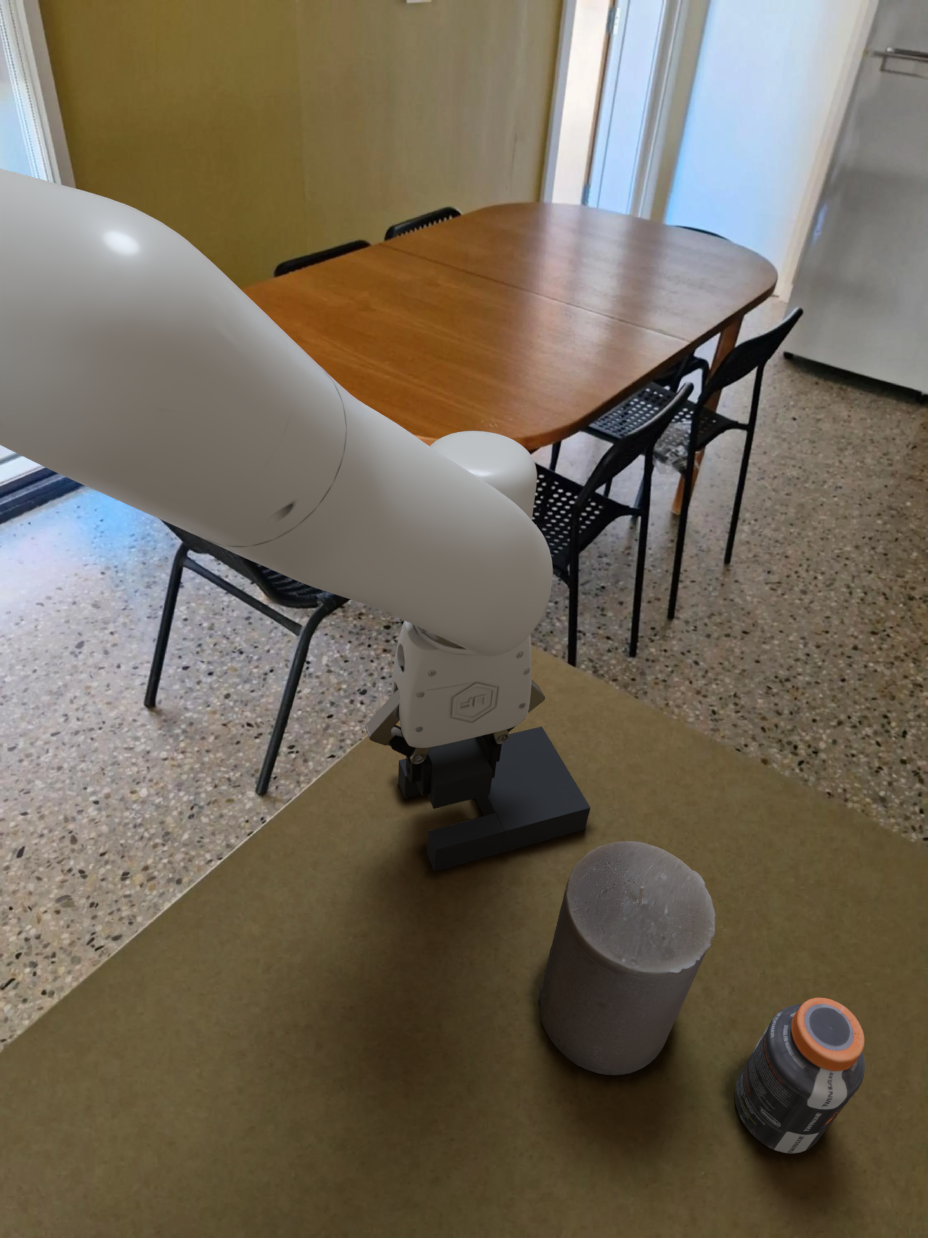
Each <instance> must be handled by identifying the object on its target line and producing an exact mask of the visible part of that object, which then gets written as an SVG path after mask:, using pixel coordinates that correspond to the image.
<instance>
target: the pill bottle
mask: <svg viewBox="0 0 928 1238" xmlns="http://www.w3.org/2000/svg"><path fill="white" fill-rule="evenodd" d="M865 1039H866V1037H865V1033H864V1030H863V1027H862V1025H861V1023H860V1022H859V1020H858V1019H857V1017H856V1015H854V1013H853V1012H851V1010H850V1009H848V1007H846V1006H845V1005H843V1004H842V1003H839V1002H838V1001H836V1000H834V999H832V998H827V997H813V998H809V999H807V1000H806V1001H804V1002H803V1003H796V1004H793V1005H792V1004H791V1005H788V1006H786V1007H784V1008H782V1009H781V1010H780V1011H778V1012H777V1013H776V1014H775V1016H773V1017H772V1019H771V1021H770V1022H769V1024H768V1026H767V1027H766V1029H765V1030H764V1032H763V1033H762V1034H761V1036H760V1038H759V1040H758V1042H757V1043H756V1045H755V1047H754V1049H753V1050H752V1053H751V1054H750V1056H749V1058H748V1059H747V1061H746V1063H745V1064H744V1066H743V1068H742V1070H741V1071H740V1073H739V1075H738V1077H737V1079H736V1082H735V1085H734V1103H735V1107H736V1111H737V1114H738V1116H739V1118H740V1120H741V1122H742V1124H743V1125H744V1127H745V1128H746V1129H747V1131H748V1132H749V1133H750V1134H751V1135H752V1136H753V1137H754V1138H755V1139H756V1140H757V1141H758V1142H760V1143H761V1144H763V1145H764V1146H765V1147H767V1148H769V1149H771V1150H774V1151H776V1152H780V1153H784V1154H800V1153H802V1152H805V1151H808V1150H809V1149H811V1148H812V1147H813V1146H815V1145H816V1143H817V1142H818V1141H819V1139H820V1138H821V1137H822V1136H823V1135H824V1133H825V1132H826V1131H827V1129H828V1128H829V1127H830V1125H832V1123H833V1122H834V1121H835V1119H837V1117H838V1115H839V1114H840V1113H841V1111H842V1110H843V1109H844V1107H846V1105H847V1104H848V1103H849V1102H850V1100H851V1099H852V1098H853V1096H854V1095H855V1093H857V1091H858V1090H859V1089H860V1087H861V1085H862V1083H863V1080H864V1077H865V1073H866V1072H865V1070H866V1062H865V1056H864V1052H863V1051H864V1047H865Z"/></svg>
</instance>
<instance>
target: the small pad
mask: <svg viewBox="0 0 928 1238" xmlns="http://www.w3.org/2000/svg"><path fill="white" fill-rule="evenodd" d="M428 755H429V757H430V759H431V761H432V776H431V783H430V792H429V794H428V795H427V798H428V800H429V802H430V804H431V807H432V809H433V810H435V809H439V808H444V807H447V806H451V805H455V804H459V803H462V802H467V801H470V800H474V799H475V798H478V797H482V796H486V795H490V790H491V782H492V775H493V770H492V768H491V766H490V764H489V762H488V761H487V759H486V757H485V755H484V753H483V751H482V749H481V747H480V745H479V743H478V741H477V739H476V737H474V738H470V739H465V740H461V741H457V742H452V743H448V744H444V745H439V746H434V747H431V748H430V750H429V753H428Z"/></svg>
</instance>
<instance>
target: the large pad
mask: <svg viewBox="0 0 928 1238" xmlns="http://www.w3.org/2000/svg"><path fill="white" fill-rule="evenodd" d="M397 770H398V771H397V772H398V773H397V777H398V778H397V783H398V785H399V789H400V791H401V793H402V795H403V798H404V799H407V798H412V797H416V796H420V795H421V793H420V791H419V788H418V786H417V783H416V782H414V783H410V781H409V779H408V776H407V773H406V758H402V759H399V760H398V769H397ZM474 799H475V801H476V804H477V806H478V808H479V809H480V812H481V814H482V816H479V817H475V818H471V819H468V820H463V821H460V822H456V823H452V824H448V825H445V826H441V827H440V826H439V827H437V828H433V829H429V830H428V831H427V843H426V855H427V857H428V860H429V862H430V864H431V868H432V869H433V872H438V871H442V870H445V869H449V868H453V867H456V866H460V865H464V864H467V863H471V862H475V861H477V860H481V859H484V858H489V857H492V856H495V855H499V854H503V853H507V852H510V851H514V850H516V849H520V848H524V847H528V846H531V845H535V844H538V843H542V842H545V841H550V840H553V839H556V838H560V837H563V836H566V835H570V834H575V833H577V832H578V833H579V832H581V831H584V830H586V827H587V823H588V821H589V820H588V819H589V815H590V812H591V806H590V804H589V803H588V801H587V799H586V798H585V796H584V794H583V793H582V791H581V789H580V787H579V786H578V784H577V783H576V781H575V779H574V778H573V775H572V774H571V773H570V771H569V769H568V767H567V766H566V764H565V763H564V761H563V759H562V758H561V756H560V754H559V752H558V751H557V749H556V747H555V746H554V744H553V742H552V741H551V739H550V737H549V736H548V734H547V732H546V730H545V729H544V728H543V726H537V727H534V728H529V729H525V730H520V731H516V732H512V733H509V739H508V741H506V742H505V743H503V744H502V746H501V754H500V760H499V762H496V770H495V777H494V778H492V782H491V790H490V795H486V796H482V797H478V798H474Z"/></svg>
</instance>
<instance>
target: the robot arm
mask: <svg viewBox="0 0 928 1238" xmlns="http://www.w3.org/2000/svg"><path fill="white" fill-rule="evenodd" d="M0 446H1V447H3V448H5V449H7V450H9V451H11V452H13V453H15V454H17V455H19V456H21V457H23V458H25V459H27V460H30V461H32V462H34V463H35V464H37V465H40V466H42V467H44V468H46V469H48V470H51V472H52V471H53V472H54V473H56V474H59V475H60V476H63V477H65V478H67V479H69V480H72V481H73V482H76V483H79V484H81V485H83V486H85V487H88V488H90V489H92V490H94V491H96V492H97V493H100V494H103V495H105V496H107V497H110V498H112V499H114V500H116V501H118V502H121V503H123V504H125V505H127V506H129V507H132V508H134V509H136V510H138V511H141V512H143V513H146V514H148V515H150V516H153V517H154V518H157V519H159V520H161V521H163V522H166V523H168V524H170V525H172V526H174V527H177V528H179V529H181V530H183V531H185V532H187V533H190V534H192V535H194V536H196V537H198V538H200V539H203V540H204V541H207V542H209V543H211V544H213V545H216V546H217V547H220V548H222V549H225V550H227V551H229V552H231V553H232V554H234V555H237V556H239V557H242V558H243V559H247V560H249V561H251V562H253V563H256V564H258V565H261V566H263V567H265V568H268V569H269V570H272V571H274V572H276V573H278V574H281V575H283V576H285V577H287V578H290V579H292V580H295V581H296V582H299V583H301V584H304V585H307V586H310V587H312V588H314V589H318V590H321V591H323V592H327V593H329V594H332V595H336V596H339V597H342V598H345V599H349V600H352V601H355V602H358V603H360V604H363V605H366V606H369V607H371V608H374V609H376V610H378V611H380V612H382V613H385V614H387V615H390V616H392V617H395V619H396V620H397V622H398V623H399V622H403V623H402V626H401V630H400V634H399V637H398V640H397V644H396V650H395V654H394V660H393V666H392V667H393V668H392V674H391V675H392V677H391V685H390V697H389V698H388V699H387V700H386V701H385V702H384V704H383V705H381V707H380V708H379V709H378V711H376V713H375V714H374V715H373V716H372V717H371V718H370V719H369V720H368V722H367V723H366V724H365V725H364V729H365V730H366V734H367V736H368V739H369V741H371V742H373V743H376V744H379V745H382V746H385V747H387V746H388V747H390V748H391V750H392V751H395V752H397V753H398V754H400V755H403V756H405V759H406V773H407V776H408V779H409V781H410V783H414V782H416V783H417V786H418V788H419V791H420V793H421V794H420V795H421V796H422V797H423V796H428V794H429V792H430V783H431V776H432V761H431V759H430V757H429V755H428V753H429V750H430V748H431V747H434V746H439V745H444V744H448V743H452V742H457V741H461V740H465V739H470V738H474V737H476V739H477V741H478V743H479V745H480V747H481V749H482V751H483V753H484V755H485V757H486V759H487V761H488V762H489V764H490V766H491V768H492V770H493V775H492V778H494V777H495V770H496V762H499V760H500V754H501V746H502V744H503V743H505V742H506V741H508V739H509V734H510V732H511V731H512V730H513V729H515V728H516V727H517V726H518V725H520V724H522V723H523V722H524V721H525V719H526V718H527V716H528V713H530V712H532V711H533V710H535V708H537V707H538V706H539V705H541V704H542V703H543V702H544V701H545V700H546V695H545V694H544V692H543V691H542V689H541V688H540V686H539V685H538V684H537V683H536V682H535V681H534V680H533V655H532V654H533V653H532V638H531V637H532V636H531V634H532V633H533V632H534V631H535V629H536V628H537V626H538V625H539V623H540V622H541V620H542V618H543V616H544V614H545V613H546V610H547V607H548V604H549V601H550V597H551V593H552V588H553V579H554V578H553V577H554V568H553V567H554V566H553V559H552V555H551V550H550V547H549V545H548V542H547V540H546V537H545V536H544V534H543V533H542V531H541V530H540V529H539V527H538V526H537V525H536V524H535V522H534V521H533V514H534V506H535V500H536V499H535V498H536V491H537V481H538V471H537V466H536V463H535V460H534V458H533V456H532V455H531V453H530V452H529V450H527V449H526V448H525V447H524V446H523V445H522V444H520V443H519V442H517V441H516V440H515V439H512V438H510V437H508V436H506V435H502V434H499V433H495V432H492V431H491V432H490V431H485V430H464V431H458V432H453V433H450V434H447V435H444V436H442V437H440V438H438V439H437V440H435V441H433V442H432V443H431V444H430V445H428V444H427V443H426V442H424V441H423V440H421V439H420V438H419V437H418V436H417V435H415V434H413V433H412V432H411V431H408V430H407V429H405V428H404V427H403V426H401V425H400V424H398V423H397V422H395V421H394V420H393V419H390V418H389V417H387V416H386V415H383V414H382V413H380V412H379V411H377V410H376V409H374V408H372V407H370V406H369V405H367V404H365V403H364V402H362V401H361V400H359V399H358V398H356V397H355V396H354V395H352V394H351V393H350V392H349V391H347V389H346V388H344V387H343V386H342V385H341V384H340V383H339V382H337V380H335V378H334V377H332V375H330V374H329V373H328V372H327V371H326V369H324V368H323V367H322V366H321V365H319V364H318V363H317V362H316V360H314V358H312V356H310V355H309V354H308V353H307V352H306V351H305V350H304V349H303V348H302V347H301V346H300V345H299V344H298V343H296V341H295V340H294V339H292V338H291V337H290V336H289V335H288V334H287V332H285V331H284V329H283V328H281V327H280V326H279V325H278V324H277V323H276V322H275V321H274V320H273V319H272V317H270V316H269V315H268V314H267V313H266V312H265V311H264V310H262V308H261V307H260V306H259V305H258V304H257V303H255V301H254V300H252V299H251V298H250V297H249V296H248V295H247V294H246V293H245V292H244V291H243V290H242V289H241V288H239V286H238V285H237V284H236V283H234V282H233V280H232V279H230V277H228V275H226V274H225V272H223V271H222V270H221V269H220V268H219V267H218V266H217V265H216V264H215V263H214V262H212V261H211V260H210V259H209V258H208V257H207V256H206V255H205V254H204V253H202V252H201V251H200V250H199V249H198V248H197V247H195V246H194V245H193V243H191V242H190V241H189V240H187V239H186V238H185V237H184V236H182V234H180V233H179V232H178V231H175V230H174V229H173V228H171V227H169V226H168V225H166V224H165V223H164V222H162V221H160V220H158V219H156V218H154V217H152V216H150V215H149V214H147V213H145V212H143V211H141V210H139V209H138V208H135V207H132V206H131V205H128V204H127V203H123V202H120V201H118V200H114V199H112V198H109V197H106V196H103V195H99V194H96V193H93V192H89V191H86V190H82V189H78V188H75V187H72V186H67V185H63V184H60V183H56V182H52V181H50V180H45V179H41V178H38V177H34V176H32V175H27V174H24V173H19V172H16V171H12V170H8V169H5V168H0ZM398 723H399V724H400V726H399V725H397V724H398Z"/></svg>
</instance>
